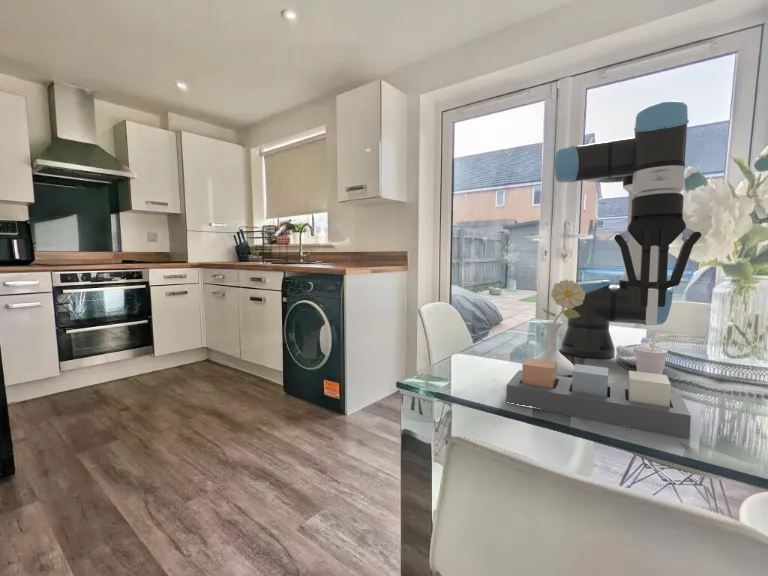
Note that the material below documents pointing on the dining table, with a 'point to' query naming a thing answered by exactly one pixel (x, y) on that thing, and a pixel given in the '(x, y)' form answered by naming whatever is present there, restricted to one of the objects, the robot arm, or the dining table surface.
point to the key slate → (590, 380)
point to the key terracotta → (539, 373)
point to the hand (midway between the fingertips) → (651, 323)
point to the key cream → (649, 388)
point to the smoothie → (650, 358)
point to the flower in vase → (566, 297)
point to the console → (603, 406)
